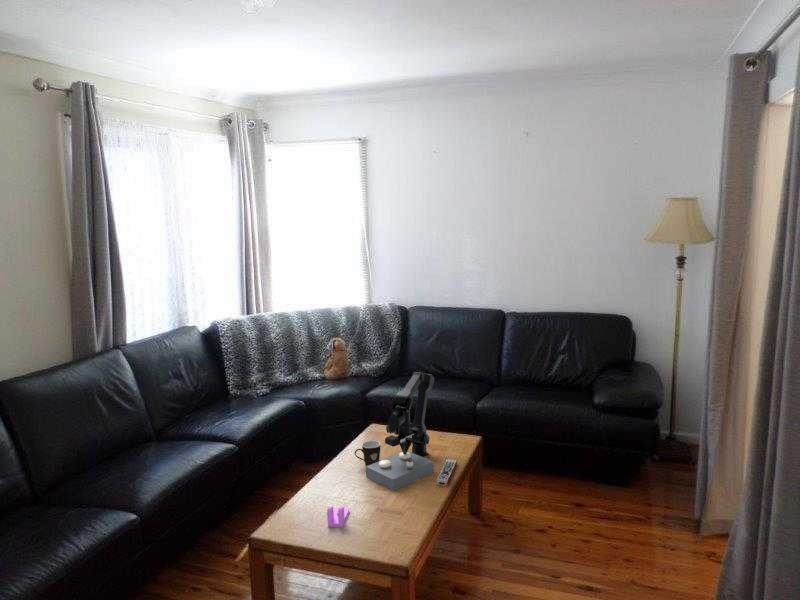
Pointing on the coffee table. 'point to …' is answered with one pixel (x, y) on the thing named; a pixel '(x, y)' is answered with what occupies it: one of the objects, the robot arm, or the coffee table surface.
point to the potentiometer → (409, 465)
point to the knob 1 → (384, 464)
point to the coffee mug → (370, 452)
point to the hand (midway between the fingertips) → (404, 454)
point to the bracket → (337, 516)
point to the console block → (399, 471)
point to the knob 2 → (404, 456)
